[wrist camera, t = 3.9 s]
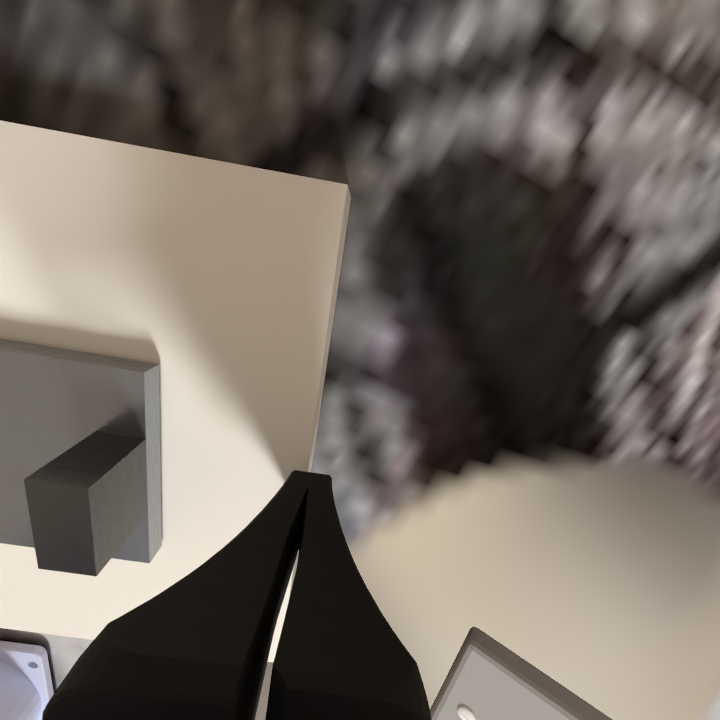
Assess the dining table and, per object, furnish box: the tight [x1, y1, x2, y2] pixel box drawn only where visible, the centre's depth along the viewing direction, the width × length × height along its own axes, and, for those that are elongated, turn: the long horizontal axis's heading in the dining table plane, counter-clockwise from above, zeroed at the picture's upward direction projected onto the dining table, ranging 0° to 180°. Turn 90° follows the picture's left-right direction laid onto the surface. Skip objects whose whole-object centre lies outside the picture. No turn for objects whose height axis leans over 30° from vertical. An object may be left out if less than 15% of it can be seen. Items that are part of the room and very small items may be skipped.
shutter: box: [0, 339, 162, 576], centre depth 10 cm, size 8×8×3 cm
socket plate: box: [0, 121, 351, 662], centre depth 13 cm, size 20×18×2 cm
